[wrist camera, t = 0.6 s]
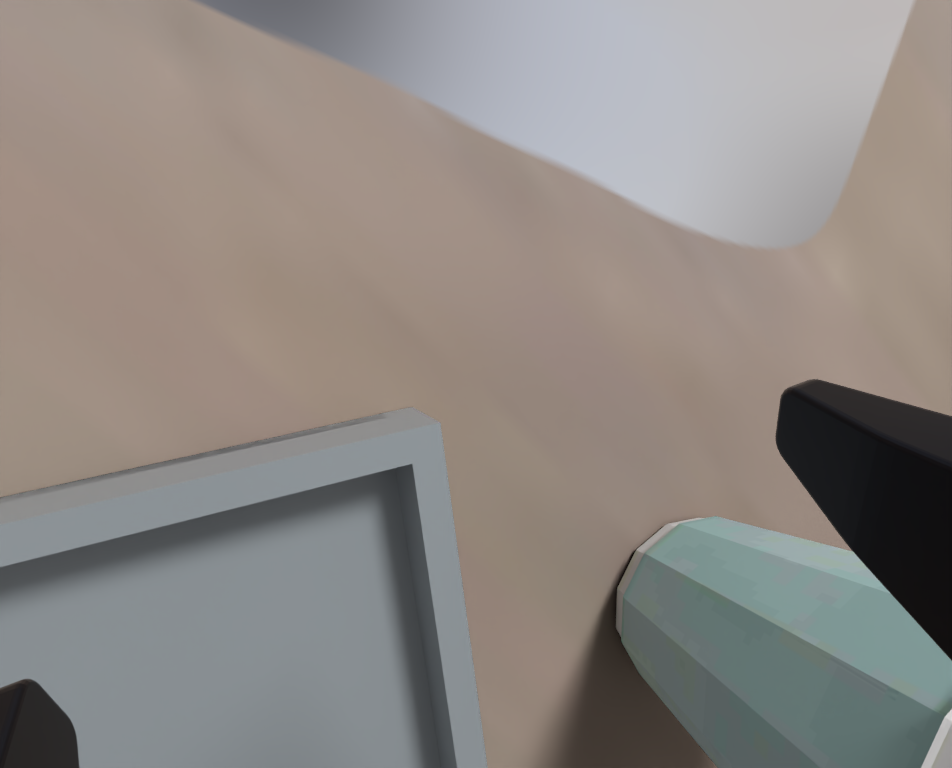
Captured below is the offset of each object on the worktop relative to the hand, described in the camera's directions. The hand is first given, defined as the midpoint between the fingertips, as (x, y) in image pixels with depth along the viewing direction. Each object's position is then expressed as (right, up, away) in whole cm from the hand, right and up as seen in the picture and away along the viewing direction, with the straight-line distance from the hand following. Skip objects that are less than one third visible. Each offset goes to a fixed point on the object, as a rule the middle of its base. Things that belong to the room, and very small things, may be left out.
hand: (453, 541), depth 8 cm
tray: (-8, -8, +14) cm, 18 cm away
